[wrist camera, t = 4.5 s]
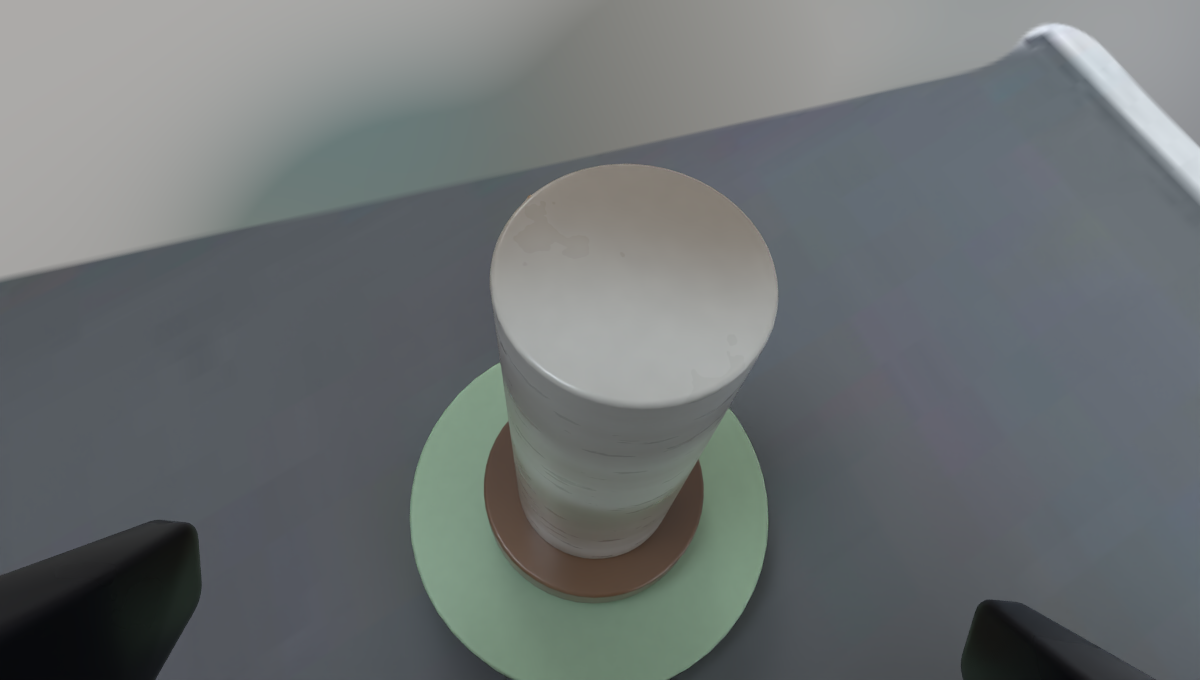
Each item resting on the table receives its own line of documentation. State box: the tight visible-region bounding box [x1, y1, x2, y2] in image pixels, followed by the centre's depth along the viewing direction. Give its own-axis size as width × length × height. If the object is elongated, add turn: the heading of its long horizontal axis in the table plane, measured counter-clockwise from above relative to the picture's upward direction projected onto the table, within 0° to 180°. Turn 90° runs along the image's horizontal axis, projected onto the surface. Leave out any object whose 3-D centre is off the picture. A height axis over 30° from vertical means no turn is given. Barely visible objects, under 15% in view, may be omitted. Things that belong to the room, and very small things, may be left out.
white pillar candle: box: [484, 164, 778, 603], centre depth 14 cm, size 11×5×10 cm, turn 0°
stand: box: [410, 363, 769, 680], centre depth 18 cm, size 9×9×2 cm
